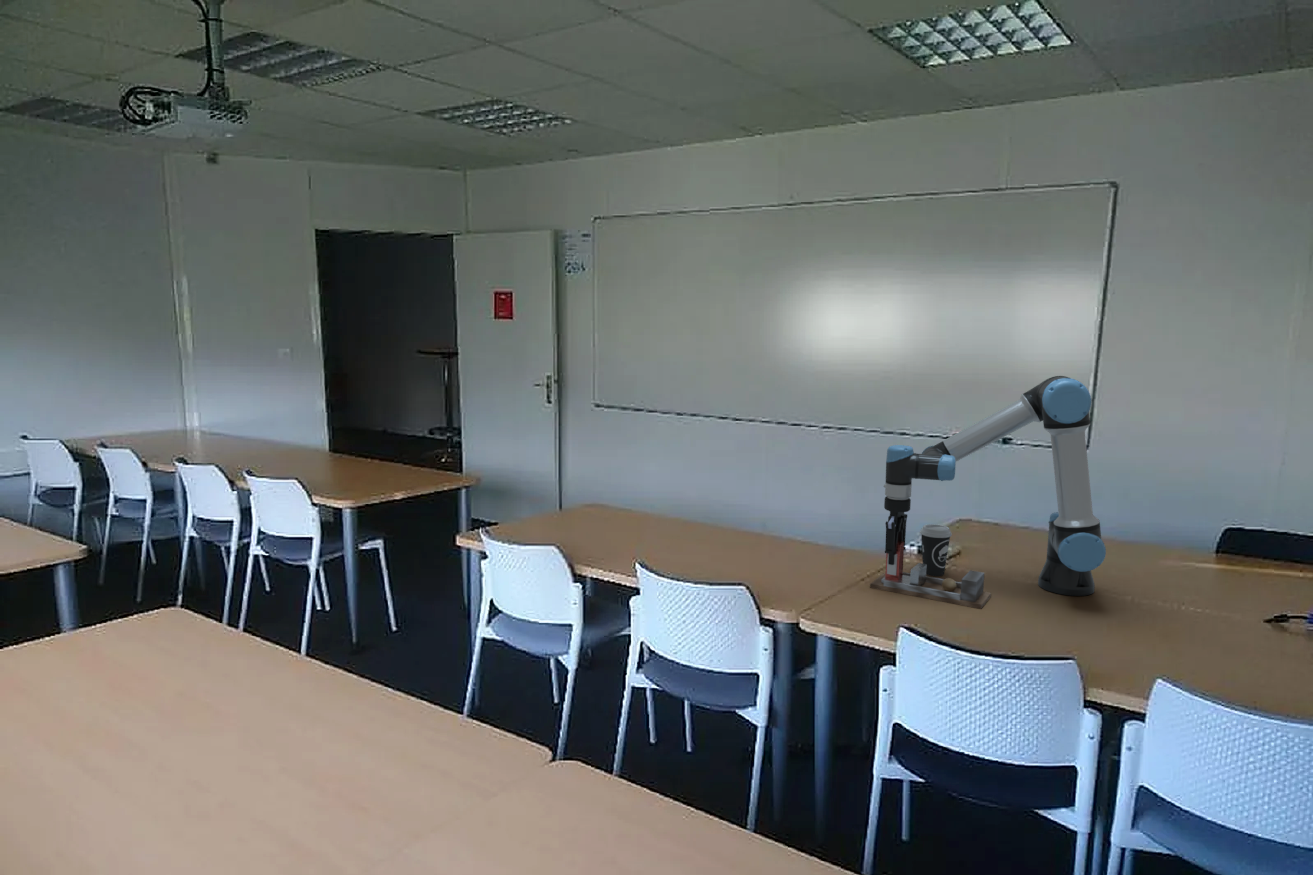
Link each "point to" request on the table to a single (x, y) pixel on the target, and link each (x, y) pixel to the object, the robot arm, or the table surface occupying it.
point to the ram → (916, 574)
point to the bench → (964, 594)
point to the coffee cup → (935, 548)
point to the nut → (949, 585)
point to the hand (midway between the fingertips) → (894, 572)
